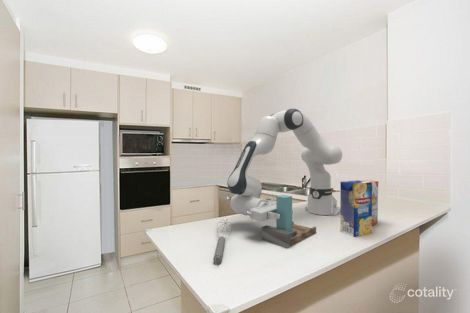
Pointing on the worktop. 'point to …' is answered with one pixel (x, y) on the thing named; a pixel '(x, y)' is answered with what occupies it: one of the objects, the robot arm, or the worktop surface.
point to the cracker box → (374, 201)
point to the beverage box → (356, 207)
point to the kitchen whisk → (220, 246)
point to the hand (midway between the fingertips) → (286, 214)
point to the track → (286, 235)
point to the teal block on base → (284, 213)
